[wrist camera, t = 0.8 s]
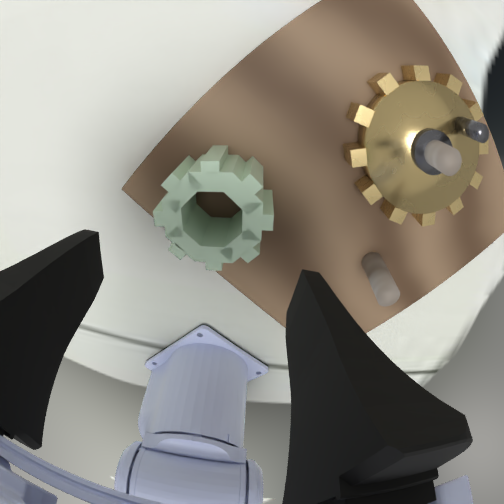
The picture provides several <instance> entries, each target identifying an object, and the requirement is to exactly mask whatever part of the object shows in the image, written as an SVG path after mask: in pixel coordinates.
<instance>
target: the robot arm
mask: <svg viewBox="0 0 504 504" xmlns="http://www.w3.org/2000/svg"><path fill="white" fill-rule="evenodd" d="M103 278H104V275H103V268H102V260H101V252H100V242H99V232H96V231H90V230H82V231H79V232H77V233H75V234H73V235H70V236H68V237H66V238H64V239H63V240H61V241H59V242H57V243H55V244H53V245H51V246H49V247H47V248H45V249H44V250H42V251H40V252H38V253H36V254H34V255H32V256H30V257H28V258H26V259H24V260H22V261H21V262H19V263H17V264H15V265H13V266H11V267H9V268H6V269H4V270H2V271H0V504H56V502H57V499H58V498H57V497H56V496H55V495H54V494H52V493H50V492H48V491H46V490H44V489H42V488H40V487H39V486H37V485H35V484H33V483H31V482H29V481H28V480H26V479H24V478H22V477H20V476H19V475H17V474H15V473H14V472H12V470H11V469H10V464H9V462H10V463H12V464H13V465H15V466H17V467H18V468H20V469H22V470H23V471H25V472H27V473H28V474H30V475H32V476H34V477H36V478H37V479H39V480H41V481H43V482H45V483H47V484H49V485H51V486H53V487H55V488H57V489H59V490H61V491H63V492H65V493H67V494H70V495H72V496H74V497H77V498H79V499H81V500H84V501H86V502H89V503H91V504H262V503H263V474H262V470H261V468H260V467H259V466H258V464H256V462H255V460H252V459H247V460H246V453H247V452H246V451H247V449H246V448H243V443H244V426H245V409H246V394H247V382H248V381H250V380H253V379H255V378H257V377H259V376H261V375H263V374H266V373H267V372H268V367H267V366H266V365H264V364H263V363H261V362H260V361H258V360H257V359H255V358H254V357H252V356H250V355H249V354H247V353H246V352H244V351H243V350H241V349H240V348H238V347H237V346H235V345H234V344H232V343H231V342H230V341H228V340H227V339H225V338H224V337H222V336H221V335H219V334H218V333H217V332H215V331H214V330H212V329H211V328H209V327H208V326H205V325H201V326H199V327H198V328H196V329H195V330H193V331H192V332H190V333H189V334H187V335H186V336H184V337H183V338H181V339H180V340H178V341H177V342H175V343H174V344H172V345H171V346H169V347H168V348H166V349H165V350H163V351H161V352H160V353H158V354H157V355H155V356H154V357H152V358H151V359H149V360H148V361H146V362H145V366H146V368H148V369H150V370H151V371H152V372H151V376H150V379H149V382H148V386H147V389H146V392H145V396H144V399H143V403H142V406H141V409H140V413H139V417H138V427H139V431H140V434H141V437H142V439H143V441H142V442H140V441H135V442H133V443H132V444H131V445H130V446H128V447H127V448H126V449H125V450H124V451H123V453H122V455H121V457H120V460H119V463H118V466H117V470H116V475H115V490H114V489H111V488H108V487H105V486H102V485H99V484H96V483H94V482H91V481H89V480H86V479H84V478H81V477H79V476H76V475H74V474H72V473H70V472H67V471H65V470H63V469H61V468H59V467H56V466H54V465H52V464H50V463H48V462H46V461H44V460H42V459H40V458H38V457H37V456H35V455H33V454H31V453H29V452H28V451H26V450H24V449H22V448H21V447H19V446H17V445H16V444H14V443H12V442H11V441H9V440H7V439H6V438H4V437H3V435H6V436H7V437H9V438H10V439H13V438H14V439H16V440H17V441H19V442H21V443H22V444H24V445H26V446H27V447H29V448H31V449H33V450H36V449H39V448H40V447H41V446H42V437H43V429H44V422H45V416H46V411H47V407H48V403H49V398H50V394H51V391H52V387H53V384H54V380H55V377H56V374H57V372H58V369H59V366H60V363H61V361H62V358H63V355H64V353H65V351H66V349H67V347H68V345H69V343H70V341H71V339H72V338H73V336H74V334H75V332H76V330H77V329H78V327H79V325H80V323H81V322H82V320H83V318H84V317H85V315H86V313H87V311H88V310H89V308H90V306H91V304H92V303H93V301H94V299H95V297H96V295H97V292H98V290H99V288H100V285H101V283H102V281H103ZM200 333H201V334H200ZM286 347H287V358H288V367H289V378H290V388H291V428H290V445H289V457H288V467H287V476H286V483H285V491H284V497H283V503H282V504H473V499H472V493H471V488H470V484H469V479H468V476H467V475H464V476H461V477H459V478H457V479H454V480H451V481H449V482H446V483H443V484H441V485H438V486H436V487H434V483H433V480H435V479H437V478H438V470H437V468H438V467H439V466H441V465H443V464H444V463H446V462H448V461H450V460H451V459H453V458H455V457H456V456H458V455H459V454H461V453H462V452H464V451H465V450H466V449H467V448H468V447H469V446H470V445H471V443H472V441H473V439H472V436H471V433H470V429H469V426H468V423H467V420H466V417H465V415H463V414H462V413H460V412H459V411H457V410H456V409H454V408H452V407H451V406H449V405H447V404H446V403H444V402H442V401H441V400H439V399H438V398H436V397H435V396H434V395H432V394H431V393H429V392H428V391H426V390H425V389H424V388H423V387H421V386H420V385H419V384H418V383H416V382H415V381H414V380H413V379H411V378H410V377H409V376H408V375H407V374H406V373H404V372H403V371H402V370H401V369H400V368H399V367H398V366H396V365H395V364H394V363H393V362H392V361H391V360H390V359H389V358H388V357H387V356H386V355H385V354H384V353H383V352H382V351H381V350H380V349H379V348H378V347H377V346H376V345H375V343H374V342H373V341H372V340H371V339H370V338H369V337H368V336H367V334H366V333H365V332H364V331H363V330H362V328H361V327H360V326H359V325H358V324H357V322H356V321H355V320H354V319H353V317H352V316H351V315H350V313H349V312H348V311H347V309H346V308H345V307H344V305H343V304H342V303H341V301H340V300H339V299H338V297H337V296H336V294H335V293H334V292H333V290H332V289H331V288H330V286H329V285H328V283H327V282H326V281H325V279H324V278H323V277H322V275H321V274H320V273H319V272H315V271H310V270H304V269H302V271H301V273H300V276H299V279H298V282H297V285H296V287H295V290H294V293H293V296H292V299H291V301H290V304H289V307H288V309H287V312H286ZM8 461H9V462H8Z"/></svg>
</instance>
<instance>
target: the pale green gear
mask: <svg viewBox="0 0 504 504" xmlns="http://www.w3.org/2000/svg"><path fill="white" fill-rule="evenodd" d="M161 186H162V187H163V188H164V189H166V190H167V191H168V192H167V194H166V195H165V196H164V198H163V199H162V200H161V201H160V203H159V204H158V205H157V207H156V208H155V209H154V210H153V216H154V224H155V226H158V227H165V234H166V237H167V238H168V239H169V240H170V241H171V242H172V244H171V245H170V247H169V249H168V250H169V251H170V252H171V253H173V254H174V255H175V256H176V257H177V258H179V259H180V260H181V259H182V258H183V257H184V256H185V255H186V254H187V255H188V256H189V257H190V258H191V259H192V260H194V261H199V262H205V263H206V270H215V271H222V267H223V263H233V262H235V261H236V260H237V259H239V258H240V257H241V258H242V259H243V260H245V261H246V262H247V263H249V262H250V261H251V260H253V259H254V258H255V257H257V256H258V255H259V254H260V241H261V236H262V230H266V231H273V221H274V209H273V194H272V190H264V189H263V166H262V165H261V164H260V163H259V162H258V161H257V160H256V159H255V158H254V157H253V156H252V157H251V158H250V159H249V160H248V161H247V162H245V161H244V160H243V159H242V158H241V157H240V156H239V155H228V145H213V146H212V147H211V148H210V149H209V151H208V152H207V153H206V154H202V155H201V156H200V157H199V158H198V159H197V160H196V161H195V160H194V159H193V158H191V157H190V156H188V157H187V158H186V159H185V160H184V161H183V162H182V163H181V164H180V165H179V166H178V167H177V168H176V169H175V170H174V171H173V172H172V173H171V174H170V176H169V177H168V178H167V179H166V180H165V181H164V182H163V183H162V184H161ZM197 192H224V193H225V194H226V195H227V196H228V197H230V198H231V199H232V200H233V201H234V202H235V203H236V204H237V205H238V206H239V207H240V208H241V210H240V211H239V212H237V213H236V214H235V215H234V216H233V217H232V218H222V217H210V216H209V215H208V214H207V213H206V212H205V211H204V210H203V209H202V208H201V207H200V206H198V205H197V204H196V193H197Z"/></svg>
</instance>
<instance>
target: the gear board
mask: <svg viewBox="0 0 504 504" xmlns="http://www.w3.org/2000/svg"><path fill="white" fill-rule="evenodd" d="M407 65H421V66H428V67H429V73H430V80H431V81H432V82H434V79H435V76H436V73H443V74H451V75H453V76H454V77H455V78H457V79H458V80H459V81H461V82H462V86H461V89H460V92H459V95H458V96H459V97H460V98H461V99H467V100H471V101H475V102H477V100H476V98H475V96H474V94H473V92H472V90H471V88H470V86H469V84H468V82H467V80H466V79H465V77H464V75H463V73H462V71H461V70H460V68H459V66H458V64H457V63H456V61H455V59H454V58H453V56H452V54H451V53H450V51H449V49H448V48H447V46H446V45H445V43H444V42H443V40H442V39H441V37H440V36H439V34H438V33H437V31H436V30H435V28H434V27H433V25H432V24H431V23H430V21H429V20H428V19H427V17H426V16H425V15H424V13H423V12H422V11H421V9H420V8H419V7H418V6H417V4H416V3H415V2H414V1H413V0H321V1H320V2H318V3H317V4H315V5H314V6H312V7H311V8H309V9H308V10H306V11H305V12H303V13H302V14H300V15H299V16H298V17H296V18H295V19H293V20H292V21H291V22H289V23H288V24H287V25H285V26H284V27H283V28H281V29H280V30H279V31H277V32H276V33H275V34H273V35H272V36H271V37H269V38H268V39H267V40H266V41H264V42H263V43H262V44H261V45H259V46H258V47H257V48H256V49H255V50H253V51H252V52H251V53H250V54H249V55H247V56H246V57H245V58H244V59H243V60H242V61H240V62H239V63H238V64H237V65H236V66H235V67H234V68H232V69H231V70H230V71H229V72H228V73H227V74H226V75H225V76H224V77H222V78H221V79H220V80H219V81H218V82H217V83H216V84H215V85H214V86H213V87H212V88H211V89H210V90H209V91H208V92H207V93H206V94H205V95H204V96H203V97H202V98H201V99H200V100H199V101H198V102H197V103H196V104H195V105H194V106H193V107H192V108H191V109H190V110H189V111H188V112H187V113H186V114H185V115H184V116H183V117H182V118H181V119H180V120H179V121H178V122H177V123H176V124H175V126H174V127H173V128H172V129H171V130H170V131H169V132H168V133H167V134H166V135H165V137H164V138H163V139H162V140H161V141H160V142H159V143H158V145H157V146H156V147H155V148H154V149H153V150H152V152H151V153H150V154H149V155H148V156H147V157H146V159H145V160H144V161H143V162H142V164H141V165H140V166H139V167H138V168H137V170H136V171H135V172H134V173H133V175H132V176H131V177H130V178H129V180H128V181H127V182H126V184H125V185H124V186H123V188H122V190H123V191H124V192H125V193H126V194H128V195H129V196H130V197H131V198H132V199H133V200H134V201H135V202H136V203H138V204H139V205H140V206H141V207H142V208H143V209H144V210H145V211H146V212H148V213H149V214H150V215H151V216H152V217H153V218H154V216H153V210H154V209H155V208H156V207H157V205H158V204H159V203H160V201H161V200H162V199H163V198H164V196H165V195H166V194H167V192H168V191H167V190H166V189H164V188H163V187H162V186H161V184H162V183H163V182H164V181H165V180H166V179H167V178H168V177H169V176H170V174H171V173H172V172H173V171H174V170H175V169H176V168H177V167H178V166H179V165H180V164H181V163H182V162H183V161H184V160H185V159H186V158H187V157H188V156H190V157H191V158H193V159H194V160H195V161H196V160H197V159H198V158H199V157H200V156H201V155H202V154H206V153H207V152H208V151H209V149H210V148H211V147H212V146H213V145H228V155H239V156H240V157H241V158H242V159H243V160H244V161H245V162H247V161H248V160H249V159H250V158H251V157H252V156H253V157H254V158H255V159H256V160H257V161H258V162H259V163H260V164H261V165H262V166H263V189H264V190H272V194H273V209H274V221H273V231H266V230H262V236H261V241H260V254H259V255H258V256H257V257H255V258H254V259H253V260H251V261H250V262H249V263H247V262H246V261H245V260H243V259H242V258H241V257H240V258H239V259H237V260H236V261H235V262H233V263H223V267H222V271H216V272H217V273H218V274H220V275H221V276H222V277H223V278H224V279H226V280H227V281H228V282H229V283H231V284H232V285H233V286H234V287H235V288H237V289H238V290H239V291H240V292H241V293H243V294H244V295H245V296H246V297H248V298H249V299H250V300H251V301H253V302H254V303H255V304H256V305H257V306H259V307H260V308H261V309H262V310H264V311H265V312H266V313H267V314H269V315H270V316H271V317H272V318H274V319H275V320H276V321H277V322H279V323H280V324H281V325H282V326H284V327H285V328H286V312H287V309H288V307H289V304H290V301H291V299H292V296H293V293H294V290H295V287H296V285H297V282H298V279H299V276H300V273H301V271H302V269H304V270H310V271H315V272H319V273H320V274H321V275H322V277H323V278H324V279H325V281H326V282H327V283H328V285H329V286H330V288H331V289H332V290H333V292H334V293H335V294H336V296H337V297H338V299H339V300H340V301H341V303H342V304H343V305H344V307H345V308H346V309H347V311H348V312H349V313H350V315H351V316H352V317H353V319H354V320H355V321H356V322H357V324H358V325H359V326H360V327H361V328H362V330H363V331H364V332H365V333H367V332H369V331H371V330H372V329H374V328H376V327H377V326H379V325H380V324H382V323H384V322H385V321H387V320H388V319H390V318H392V317H393V316H395V315H396V314H398V313H399V312H401V311H403V310H404V309H406V308H407V307H409V306H410V305H412V304H413V303H415V302H416V301H417V300H419V299H420V298H422V297H423V296H425V295H426V294H428V293H429V292H430V291H432V290H433V289H435V288H436V287H437V286H439V285H440V284H441V283H443V282H444V281H445V280H447V279H448V278H449V277H451V276H452V275H453V274H455V273H456V272H457V271H459V270H460V269H461V268H462V267H464V266H465V265H466V264H468V263H469V262H470V261H471V260H472V259H474V258H475V257H476V256H477V255H479V254H480V253H481V252H482V251H483V250H485V249H486V248H487V247H488V246H489V245H490V244H492V243H493V242H494V241H495V240H496V239H497V238H498V237H499V236H501V235H502V234H503V233H504V170H503V167H502V164H501V160H500V157H499V154H498V152H497V149H496V146H495V143H494V140H493V138H492V135H491V133H490V130H489V138H488V139H489V143H488V154H479V158H478V163H477V167H476V172H477V173H479V174H480V175H481V176H483V178H482V180H481V183H480V185H479V187H478V189H476V188H474V187H473V186H471V185H470V184H469V185H468V187H467V188H466V190H465V191H464V192H463V194H462V195H461V196H460V199H461V201H462V204H463V206H464V207H463V208H462V209H461V210H460V211H458V212H457V213H456V214H455V215H453V214H452V213H450V212H449V211H448V210H447V209H446V208H444V209H441V210H439V211H436V213H435V224H434V225H429V226H423V227H422V226H421V225H420V224H419V223H418V222H417V220H416V219H415V218H414V217H413V216H412V213H410V212H408V213H407V215H406V217H405V219H404V221H403V223H402V224H398V223H396V222H393V221H391V220H389V219H388V218H387V216H386V215H385V214H384V213H383V211H382V210H381V209H380V207H381V205H382V203H383V201H384V199H385V198H384V197H381V198H380V199H379V200H377V201H376V202H375V203H374V204H372V205H370V203H369V202H368V201H367V199H366V198H365V197H364V196H363V194H362V193H361V192H360V190H359V189H358V187H357V186H356V185H355V182H356V181H358V180H359V179H360V178H361V177H363V176H364V175H366V174H365V172H364V170H363V168H362V166H361V167H355V168H352V167H351V166H350V165H349V164H348V163H347V162H346V160H345V157H344V149H343V144H346V143H353V142H357V140H358V129H359V123H357V122H355V121H352V120H350V119H348V118H346V115H347V112H348V110H349V107H350V105H351V102H353V103H357V104H360V105H363V106H365V107H367V105H368V104H369V102H370V101H371V99H372V98H373V97H374V96H375V95H376V93H375V92H374V91H373V89H372V88H371V87H370V86H369V84H368V83H367V81H368V80H370V79H371V78H372V77H374V76H375V75H376V74H378V73H391V75H392V76H393V78H394V79H395V80H396V82H398V81H402V80H403V75H402V69H401V66H407ZM477 122H480V123H483V124H485V125H486V126H487V127H488V125H487V123H486V120H485V118H484V116H483V117H481V118H480V119H479V120H478V121H477ZM488 129H489V128H488ZM424 156H425V160H426V161H427V163H428V164H429V165H431V166H432V167H434V168H436V169H437V170H439V171H440V172H442V173H443V174H445V175H447V176H452V175H455V174H456V173H457V172H458V171H459V169H460V167H461V163H462V158H461V155H460V152H459V151H458V150H457V149H455V148H453V147H451V146H449V145H447V144H445V143H443V142H441V141H439V140H432V141H430V142H429V143H428V144H427V145H426V147H425V151H424ZM381 195H382V194H381ZM196 204H197V205H198V206H200V207H201V208H202V209H203V210H204V211H205V212H206V213H207V214H208V215H209V216H210V217H222V218H232V217H233V216H234V215H235V214H236V213H237V212H239V211H240V210H241V208H240V207H239V206H238V205H237V204H236V203H235V202H234V201H233V200H232V199H231V198H230V197H228V196H227V195H226V194H225V193H224V192H197V193H196Z"/></svg>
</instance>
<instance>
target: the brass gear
mask: <svg viewBox="0 0 504 504" xmlns="http://www.w3.org/2000/svg"><path fill="white" fill-rule="evenodd" d="M401 69H402V75H403V80H402V81H398V82H396V80H395V79H394V78H393V76H392V75H391V73H378V74H376V75H375V76H374V77H372V78H371V79H370V80H368V81H367V83H368V84H369V86H370V87H371V88H372V89H373V91H374V92H375V93H376V95H375V96H374V97H373V98H372V99H371V101H370V102H369V104H368V105H367V107H365V106H363V105H360V104H357V103H353V102H351V105H350V107H349V110H348V112H347V115H346V118H348V119H350V120H352V121H355V122H357V123H359V129H358V140H357V142H353V143H346V144H343V149H344V157H345V160H346V162H347V163H348V164H349V165H350V166H351V167H352V168H355V167H361V166H362V168H363V170H364V172H365V174H366V175H364V176H363V177H361V178H360V179H359V180H358V181H356V182H355V185H356V186H357V187H358V189H359V190H360V192H361V193H362V194H363V196H364V197H365V198H366V199H367V201H368V202H369V203H370V205H372V204H374V203H375V202H376V201H377V200H379V199H380V198H381V197H384V198H385V199H384V201H383V203H382V205H381V207H380V209H381V210H382V211H383V213H384V214H385V215H386V216H387V218H388V219H389V220H391V221H393V222H396V223H398V224H402V223H403V221H404V219H405V217H406V215H407V213H408V212H410V213H412V216H413V217H414V218H415V219H416V220H417V222H418V223H419V224H420V225H421V226H422V227H423V226H429V225H434V224H435V213H436V211H439V210H441V209H444V208H446V209H447V210H448V211H449V212H450V213H452V214H453V215H455V214H456V213H457V212H458V211H460V210H461V209H462V208H463V207H464V206H463V204H462V201H461V199H460V196H461V195H462V194H463V192H464V191H465V190H466V188H467V187H468V185H469V184H470V185H471V186H473V187H474V188H476V189H478V187H479V185H480V183H481V180H482V178H483V176H481V175H480V174H479V173H477V172H476V167H477V163H478V158H479V154H488V143H489V139H488V138H489V129H488V127H487V126H486V125H485V124H483V123H480V122H477V121H478V120H479V119H480V118H481V117H483V113H482V111H481V109H480V106H479V104H478V102H475V101H471V100H467V99H461V98H460V97H459V96H458V95H459V92H460V89H461V86H462V82H461V81H459V80H458V79H457V78H455V77H454V76H453V75H451V74H443V73H436V76H435V79H434V82H432V81H431V80H430V73H429V67H428V66H421V65H407V66H401ZM432 140H439V141H441V142H443V143H445V144H447V145H449V146H451V147H453V148H455V149H457V150H458V151H459V152H460V155H461V158H462V163H461V167H460V169H459V171H458V172H457V173H456V174H455V175H452V176H447V175H445V174H443V173H442V172H440V171H439V170H437V169H436V168H434V167H432V166H431V165H429V164H428V163H427V161H426V160H425V156H424V151H425V147H426V145H427V144H428V143H429V142H430V141H432ZM381 194H382V195H381Z"/></svg>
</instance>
